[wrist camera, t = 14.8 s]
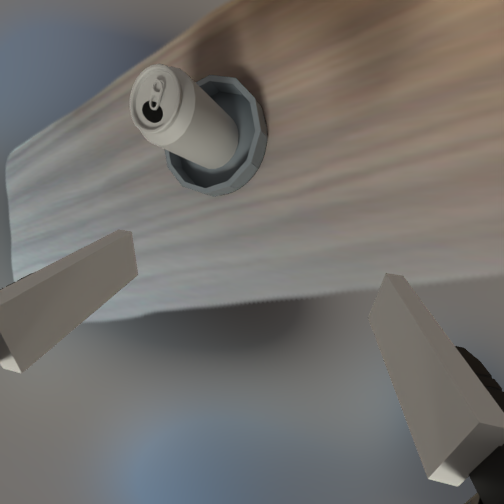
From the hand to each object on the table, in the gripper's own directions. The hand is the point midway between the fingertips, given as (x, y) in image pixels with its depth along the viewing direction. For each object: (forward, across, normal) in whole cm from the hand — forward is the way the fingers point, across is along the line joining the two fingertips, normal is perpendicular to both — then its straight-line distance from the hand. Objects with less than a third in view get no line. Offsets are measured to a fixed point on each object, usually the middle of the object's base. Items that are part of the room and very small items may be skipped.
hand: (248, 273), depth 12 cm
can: (+25, -10, +5) cm, 27 cm away
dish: (+25, -10, +5) cm, 27 cm away
